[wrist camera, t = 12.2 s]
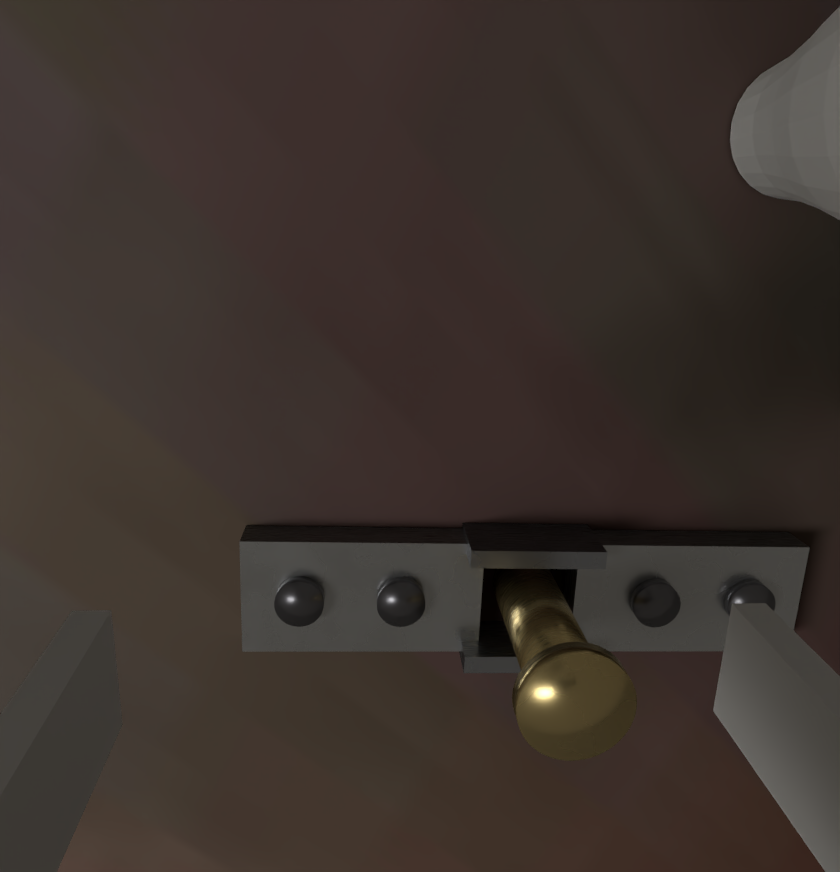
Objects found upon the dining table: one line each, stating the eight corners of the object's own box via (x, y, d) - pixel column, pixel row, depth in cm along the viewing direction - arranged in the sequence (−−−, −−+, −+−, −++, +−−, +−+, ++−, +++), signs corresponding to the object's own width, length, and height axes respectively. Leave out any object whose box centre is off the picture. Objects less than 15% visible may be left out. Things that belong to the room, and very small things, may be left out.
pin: (480, 539, 40) (522, 655, 29) (570, 541, 40) (644, 655, 29) (474, 621, 41) (512, 760, 30) (561, 622, 41) (629, 760, 31)
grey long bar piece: (248, 636, 40) (237, 673, 37) (245, 520, 38) (234, 548, 35) (769, 636, 42) (804, 672, 39) (789, 527, 41) (828, 554, 37)
